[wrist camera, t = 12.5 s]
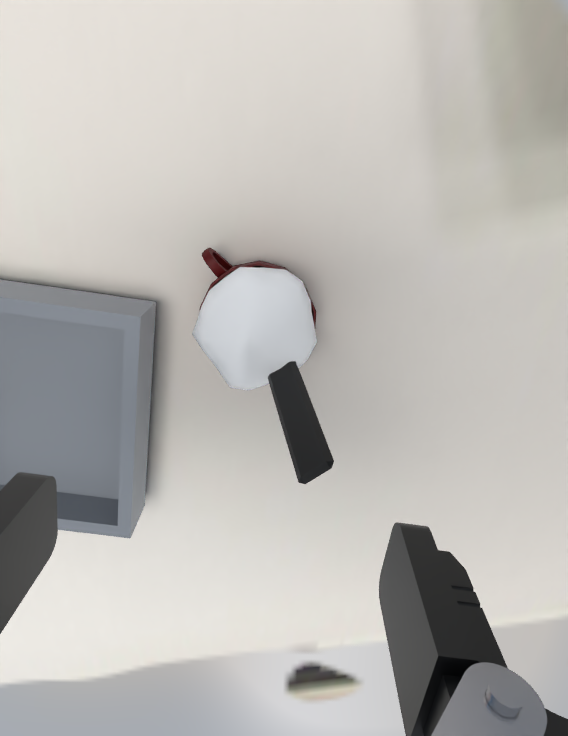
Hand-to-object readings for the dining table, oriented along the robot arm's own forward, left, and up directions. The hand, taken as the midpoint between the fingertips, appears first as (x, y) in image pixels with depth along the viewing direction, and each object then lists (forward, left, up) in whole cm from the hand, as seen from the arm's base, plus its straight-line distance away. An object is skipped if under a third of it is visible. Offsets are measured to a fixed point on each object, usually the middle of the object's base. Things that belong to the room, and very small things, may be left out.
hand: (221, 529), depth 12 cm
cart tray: (+16, +7, -20) cm, 26 cm away
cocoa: (0, 0, -20) cm, 20 cm away
